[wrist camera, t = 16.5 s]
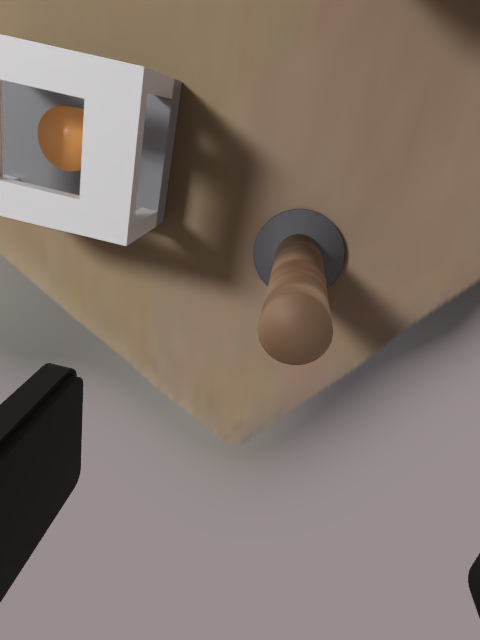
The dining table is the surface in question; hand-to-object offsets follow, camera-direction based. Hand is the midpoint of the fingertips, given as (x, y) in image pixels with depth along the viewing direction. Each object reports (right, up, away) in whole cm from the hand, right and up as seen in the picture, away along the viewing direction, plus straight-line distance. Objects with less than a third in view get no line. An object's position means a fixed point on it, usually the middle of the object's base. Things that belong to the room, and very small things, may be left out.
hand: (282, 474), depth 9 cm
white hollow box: (-12, +17, +24) cm, 31 cm away
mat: (+4, +9, +25) cm, 27 cm away
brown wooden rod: (+4, +8, +25) cm, 26 cm away
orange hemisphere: (-12, +16, +21) cm, 29 cm away
